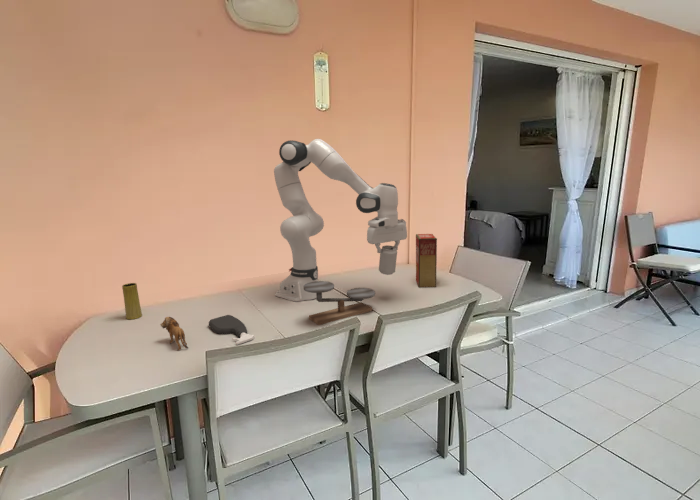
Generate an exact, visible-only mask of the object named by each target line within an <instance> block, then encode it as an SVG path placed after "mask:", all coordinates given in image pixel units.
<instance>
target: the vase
mask: <svg viewBox="0 0 700 500" xmlns="http://www.w3.org/2000/svg"><path fill="white" fill-rule="evenodd" d="M121 288H122V294H123V303H124V310H125V319H126V320H128V321H129V320H138V319H140V318H141V317H143V313H142V308H141V303H140V296H139V292H138V285H137V283H136V282H130V283H125V284H123V285H122V286H121Z"/></svg>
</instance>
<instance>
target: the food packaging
mask: <svg viewBox="0 0 700 500" xmlns="http://www.w3.org/2000/svg"><path fill="white" fill-rule="evenodd" d="M437 241H438V238H437V237H436V236H435V235H434V234H433V233H416V234H415V282H416V285H417V287H418V288H437V263H438V262H437V255H438V254H437V252H438V251H437V250H438V247H437V246H438V244H437V243H438V242H437Z"/></svg>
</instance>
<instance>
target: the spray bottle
mask: <svg viewBox="0 0 700 500" xmlns="http://www.w3.org/2000/svg"><path fill="white" fill-rule="evenodd" d="M208 327H209V328H210V329H211V330H212V331H213V332H214V333H215V334H217V335H233V334H234V335H235V336H236V337H232V338H231V340H234V341H235V345H237V346H238V345H241V344H244V343H246V342H250V341H252V340H254V339H255V334H249V333H248V330H247V327H246V325H245V323H243V322H242V320H240V318H237V317H235V316H233V315H231V314H225V315H222V316H218V317H215V318H212V319H210V320H209V321H208Z"/></svg>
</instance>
